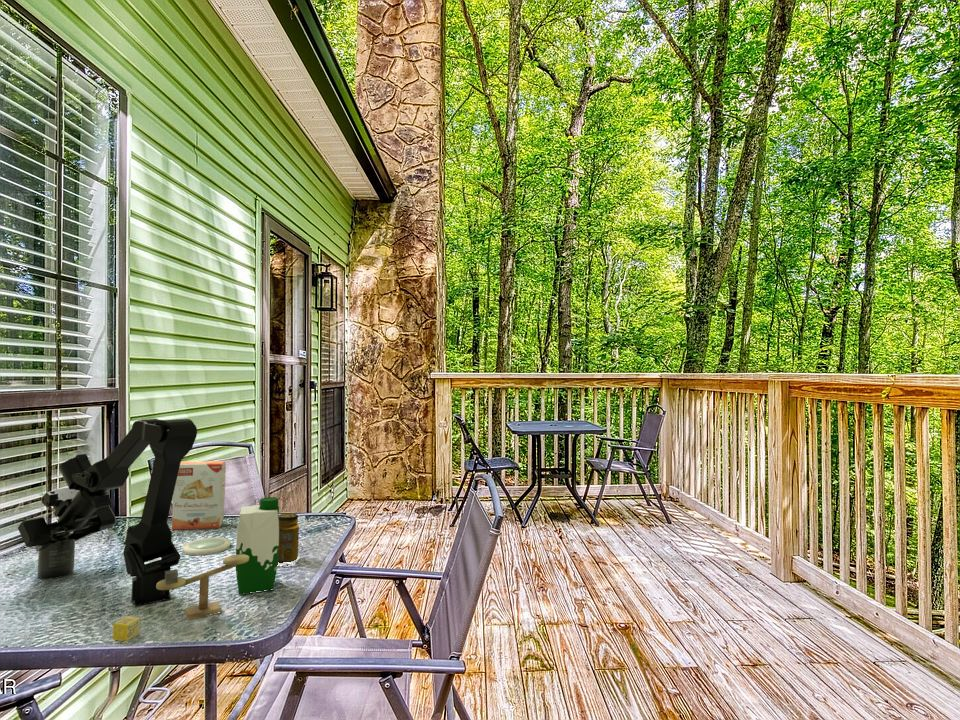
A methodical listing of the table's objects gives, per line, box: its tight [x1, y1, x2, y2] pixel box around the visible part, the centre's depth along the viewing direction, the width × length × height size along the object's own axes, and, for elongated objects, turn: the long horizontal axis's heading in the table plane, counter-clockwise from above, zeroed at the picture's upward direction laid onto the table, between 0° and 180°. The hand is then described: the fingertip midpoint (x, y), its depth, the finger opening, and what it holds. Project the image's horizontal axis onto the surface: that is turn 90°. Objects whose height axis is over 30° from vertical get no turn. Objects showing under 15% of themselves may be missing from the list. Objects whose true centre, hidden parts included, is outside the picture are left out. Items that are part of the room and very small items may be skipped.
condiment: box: [278, 512, 300, 563], centre depth 137 cm, size 7×8×12 cm
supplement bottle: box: [37, 521, 76, 580], centre depth 125 cm, size 7×7×12 cm
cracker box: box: [171, 460, 227, 531], centre depth 167 cm, size 14×6×21 cm, turn 104°
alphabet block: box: [112, 615, 142, 642], centre depth 96 cm, size 3×3×3 cm
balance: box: [156, 554, 249, 621], centre depth 106 cm, size 17×5×10 cm, turn 126°
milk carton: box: [235, 496, 280, 595], centre depth 120 cm, size 9×9×20 cm
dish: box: [181, 537, 231, 556], centre depth 146 cm, size 12×12×1 cm
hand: (53, 545), depth 126 cm, fingers open, 7 cm apart
